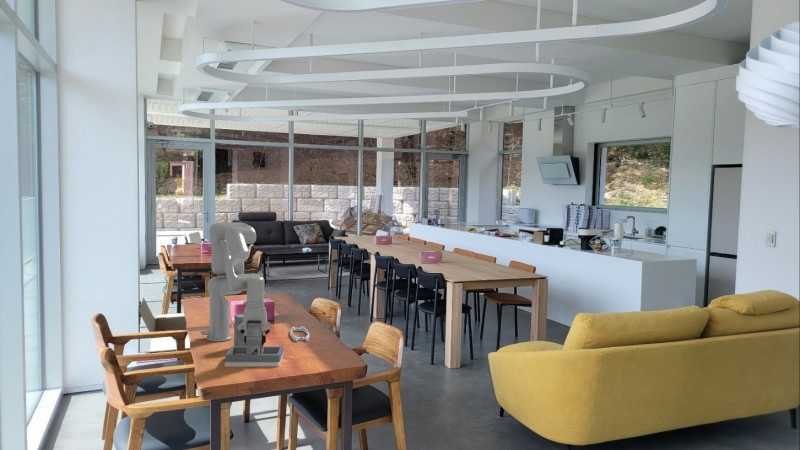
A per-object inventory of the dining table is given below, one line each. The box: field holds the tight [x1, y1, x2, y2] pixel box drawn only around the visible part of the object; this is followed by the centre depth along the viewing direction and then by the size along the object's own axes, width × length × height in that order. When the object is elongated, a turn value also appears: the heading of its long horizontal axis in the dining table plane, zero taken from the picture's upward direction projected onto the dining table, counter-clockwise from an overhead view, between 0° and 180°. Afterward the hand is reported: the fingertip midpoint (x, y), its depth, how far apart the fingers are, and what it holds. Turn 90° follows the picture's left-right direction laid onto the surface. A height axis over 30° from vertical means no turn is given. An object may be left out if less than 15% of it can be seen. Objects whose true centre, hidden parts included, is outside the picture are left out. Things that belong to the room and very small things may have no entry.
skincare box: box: [233, 313, 246, 346], centre depth 269 cm, size 8×7×16 cm
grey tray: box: [224, 345, 284, 368], centre depth 250 cm, size 23×16×4 cm
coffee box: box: [246, 321, 265, 355], centre depth 250 cm, size 9×6×16 cm
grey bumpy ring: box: [289, 325, 311, 343], centre depth 294 cm, size 3×10×25 cm
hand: (255, 343), depth 250 cm, fingers closed on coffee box, 6 cm apart
